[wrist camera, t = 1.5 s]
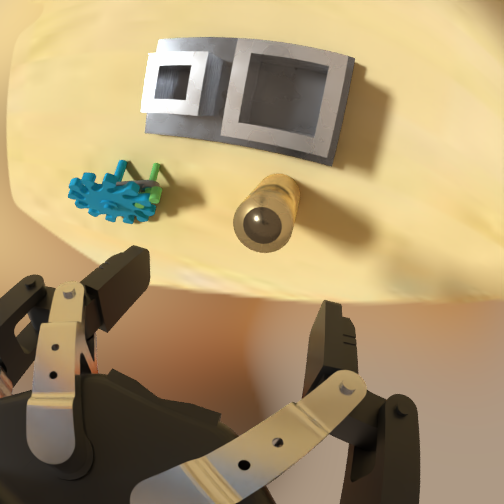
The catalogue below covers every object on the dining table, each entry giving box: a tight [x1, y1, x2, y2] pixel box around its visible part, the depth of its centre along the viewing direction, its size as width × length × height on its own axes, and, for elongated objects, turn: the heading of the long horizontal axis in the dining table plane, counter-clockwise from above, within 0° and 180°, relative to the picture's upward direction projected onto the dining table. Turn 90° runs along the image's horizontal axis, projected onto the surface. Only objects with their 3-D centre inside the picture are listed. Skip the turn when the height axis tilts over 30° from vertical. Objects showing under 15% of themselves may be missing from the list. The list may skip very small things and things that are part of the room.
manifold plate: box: [141, 37, 355, 166], centre depth 19 cm, size 10×18×5 cm, turn 80°
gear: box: [68, 160, 162, 224], centre depth 26 cm, size 11×6×10 cm
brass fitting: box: [233, 174, 300, 253], centre depth 22 cm, size 4×4×8 cm
